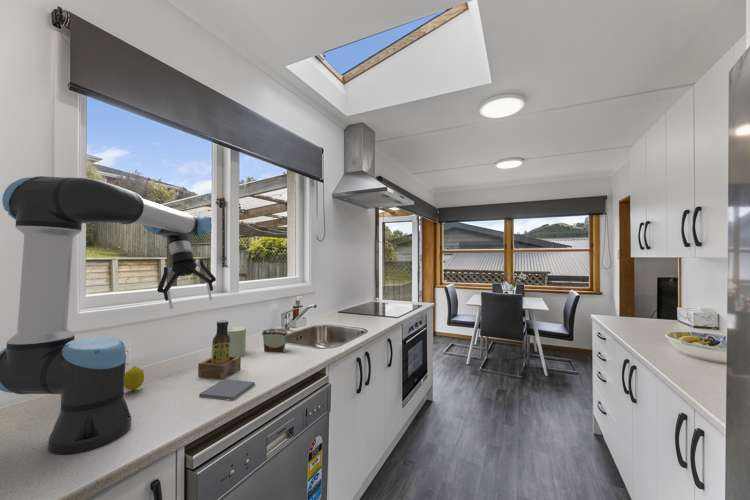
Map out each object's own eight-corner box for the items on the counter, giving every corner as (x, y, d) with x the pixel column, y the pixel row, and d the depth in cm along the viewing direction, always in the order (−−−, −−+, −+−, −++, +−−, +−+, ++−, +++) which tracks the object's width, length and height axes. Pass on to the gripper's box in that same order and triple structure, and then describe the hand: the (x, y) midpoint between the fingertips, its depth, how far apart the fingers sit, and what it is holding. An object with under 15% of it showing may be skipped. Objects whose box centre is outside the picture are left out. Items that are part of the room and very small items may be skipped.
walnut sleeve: (223, 379, 112) (223, 365, 112) (198, 377, 114) (198, 363, 114) (240, 369, 122) (240, 356, 122) (217, 367, 124) (217, 354, 124)
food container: (291, 349, 150) (291, 328, 150) (286, 353, 144) (286, 331, 144) (267, 348, 151) (267, 327, 151) (261, 352, 145) (261, 330, 145)
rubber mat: (233, 400, 96) (233, 397, 96) (199, 396, 98) (199, 393, 98) (254, 384, 108) (254, 382, 108) (224, 381, 110) (224, 379, 110)
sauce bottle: (211, 377, 114) (212, 323, 114) (210, 371, 119) (211, 320, 120) (230, 374, 117) (231, 321, 117) (228, 369, 122) (229, 319, 123)
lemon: (147, 388, 103) (148, 364, 103) (130, 395, 98) (131, 370, 98) (135, 386, 105) (136, 363, 105) (118, 393, 99) (119, 368, 100)
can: (223, 352, 143) (224, 326, 144) (245, 350, 147) (245, 325, 148) (223, 358, 135) (224, 331, 135) (246, 355, 139) (246, 329, 139)
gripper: (215, 251, 135) (225, 297, 131) (146, 262, 122) (155, 313, 118) (215, 245, 129) (226, 293, 125) (142, 256, 116) (151, 310, 112)
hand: (191, 303), depth 121 cm, fingers open, 13 cm apart
